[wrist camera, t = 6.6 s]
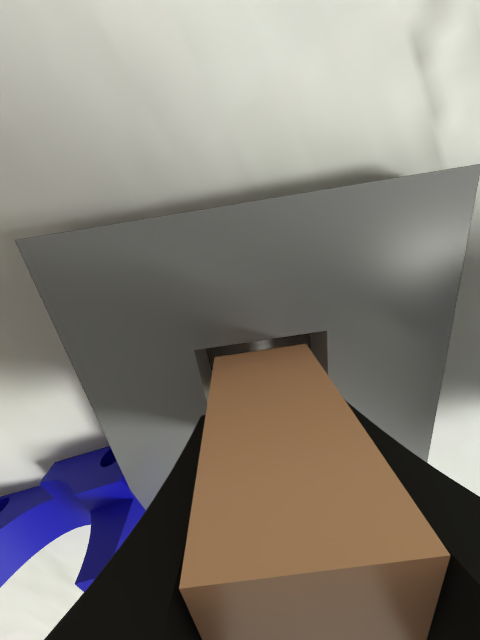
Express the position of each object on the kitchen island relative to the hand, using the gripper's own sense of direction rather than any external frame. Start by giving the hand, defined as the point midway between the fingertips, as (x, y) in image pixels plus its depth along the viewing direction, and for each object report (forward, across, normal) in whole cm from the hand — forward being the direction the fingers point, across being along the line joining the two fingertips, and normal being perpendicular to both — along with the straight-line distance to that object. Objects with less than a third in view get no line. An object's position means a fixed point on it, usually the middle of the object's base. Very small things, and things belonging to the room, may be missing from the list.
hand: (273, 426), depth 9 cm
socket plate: (+4, 0, 0) cm, 4 cm away
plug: (+2, 0, 0) cm, 2 cm away
